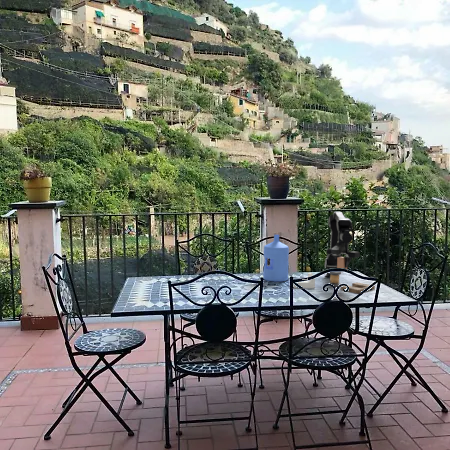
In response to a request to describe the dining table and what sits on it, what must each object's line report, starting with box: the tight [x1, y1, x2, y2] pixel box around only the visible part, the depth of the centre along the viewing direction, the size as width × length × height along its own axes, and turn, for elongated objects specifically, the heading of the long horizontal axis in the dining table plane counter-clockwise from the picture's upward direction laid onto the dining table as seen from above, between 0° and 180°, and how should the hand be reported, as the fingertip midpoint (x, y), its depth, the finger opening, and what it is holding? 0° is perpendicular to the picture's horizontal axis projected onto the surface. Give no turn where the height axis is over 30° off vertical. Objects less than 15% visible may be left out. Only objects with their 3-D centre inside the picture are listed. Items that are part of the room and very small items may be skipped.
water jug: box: [262, 234, 290, 283], centre depth 268 cm, size 16×16×28 cm
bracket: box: [293, 272, 316, 289], centre depth 250 cm, size 13×7×8 cm, turn 93°
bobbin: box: [329, 272, 342, 287], centre depth 254 cm, size 7×7×8 cm
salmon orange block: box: [337, 256, 348, 270], centre depth 245 cm, size 4×4×8 cm
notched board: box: [340, 282, 376, 295], centre depth 244 cm, size 12×17×2 cm
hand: (342, 267), depth 246 cm, fingers closed on salmon orange block, 4 cm apart
